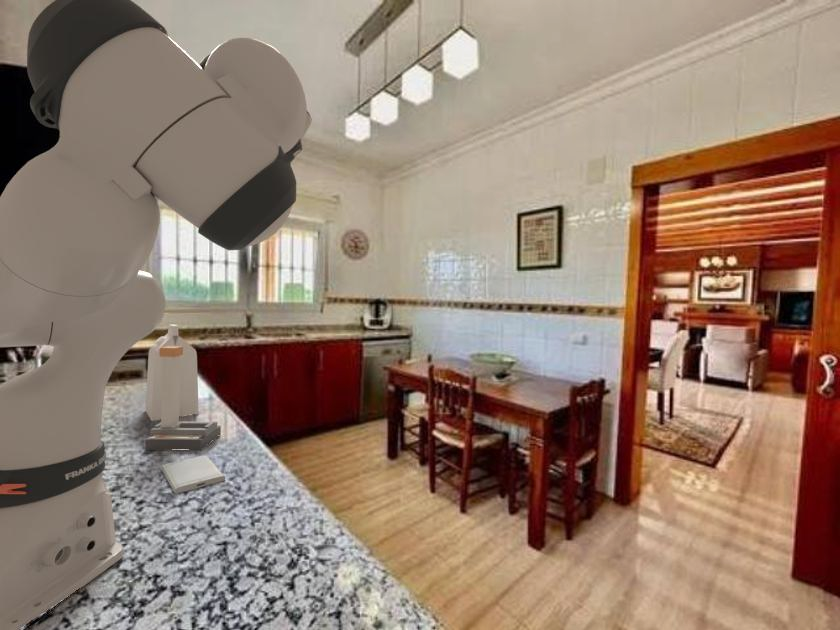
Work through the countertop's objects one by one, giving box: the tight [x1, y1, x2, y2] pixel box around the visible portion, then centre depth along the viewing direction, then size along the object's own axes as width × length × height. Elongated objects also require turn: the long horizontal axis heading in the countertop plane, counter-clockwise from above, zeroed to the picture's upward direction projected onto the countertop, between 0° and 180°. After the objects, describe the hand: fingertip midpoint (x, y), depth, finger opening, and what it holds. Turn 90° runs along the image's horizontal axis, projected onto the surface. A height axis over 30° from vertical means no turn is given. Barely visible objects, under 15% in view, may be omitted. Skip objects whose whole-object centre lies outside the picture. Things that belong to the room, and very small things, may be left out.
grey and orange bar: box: [159, 346, 183, 428], centre depth 91 cm, size 3×3×20 cm
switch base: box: [144, 420, 222, 451], centre depth 91 cm, size 10×12×4 cm
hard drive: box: [161, 455, 226, 495], centre depth 75 cm, size 2×8×12 cm
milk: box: [144, 323, 200, 422], centre depth 113 cm, size 12×12×26 cm
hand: (212, 215), depth 82 cm, fingers closed
